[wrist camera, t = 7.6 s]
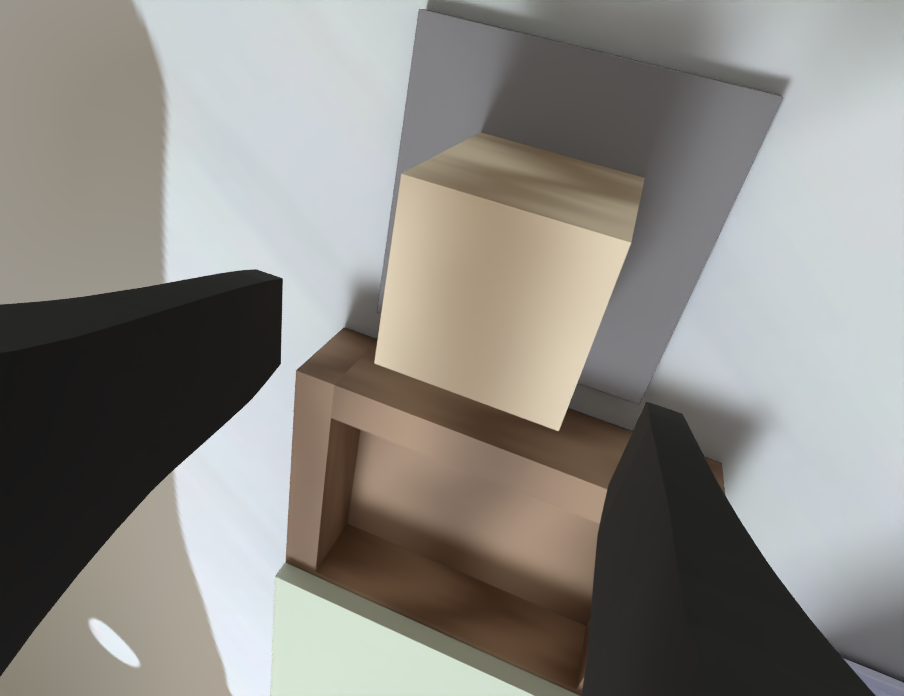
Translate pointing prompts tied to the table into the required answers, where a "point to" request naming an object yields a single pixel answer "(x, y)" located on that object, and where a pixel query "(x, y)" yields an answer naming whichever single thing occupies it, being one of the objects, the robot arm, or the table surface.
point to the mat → (597, 158)
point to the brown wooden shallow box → (450, 508)
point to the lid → (375, 650)
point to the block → (504, 272)
